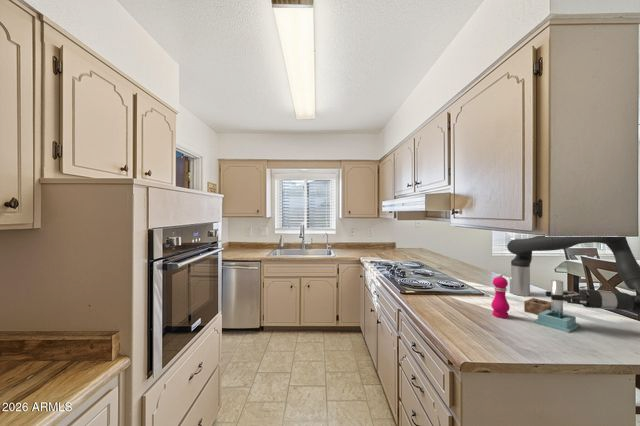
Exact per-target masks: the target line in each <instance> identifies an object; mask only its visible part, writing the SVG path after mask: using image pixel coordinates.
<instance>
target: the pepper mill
mask: <svg viewBox="0 0 640 426" xmlns="http://www.w3.org/2000/svg"><path fill="white" fill-rule="evenodd" d="M492 285H494V286H493V290H494V298H493V299H492V302H491V309H493V310H492V315H493V316H494V317H496V318H499V319H508V318H509V310H510V309H511V308H510V304H509V301H508V300H507V297H506V293H507V287H508V285H509V283H508V280H507V279H506V278H505V277H503V274H502V273H498V274H497V276H496V277H494V278H493V280H492Z"/></svg>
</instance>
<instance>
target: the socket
mask: <svg viewBox="0 0 640 426" xmlns="http://www.w3.org/2000/svg"><path fill="white" fill-rule="evenodd" d="M576 319H577V318H576V316H574V315H569V314H565V313H563V319H561V318H557V317H553V316H551V311H550V310H546V311H544V312H541V313H539V314H538V315H537V319H534V320H533V323H534V324H537V325H541V326H544V327H549V328H551V329H555V330H559V331H563V332H565V333H571V332H572V331H574V330H577V328H579V327H581V326H580V325H581V324H580V323H577V320H576Z"/></svg>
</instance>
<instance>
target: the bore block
mask: <svg viewBox="0 0 640 426" xmlns="http://www.w3.org/2000/svg"><path fill="white" fill-rule="evenodd" d="M523 304H524V307H523V308H524V309H523V311H524V312H525V313H526V312H527V313H528V314H529V313H530V314H533V315H537V316H538V314H539V313H541V312H544V311H546V310H550V311H551V301H548V300H545V299H544V300H543V299H539V298H536V297H532V298H530V299H527V300H524V302H523Z"/></svg>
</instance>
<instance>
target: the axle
mask: <svg viewBox="0 0 640 426" xmlns="http://www.w3.org/2000/svg"><path fill="white" fill-rule="evenodd" d="M550 284H551V285H550V286H551V287H550V288H551V289H550V290H551V295H552V294H553V295H562V296H563V291H564V280H560V279H551V283H550ZM550 302H551V316H553V317H557V318H561V319H563V314H564V301H559V300H552V299H551V298H550Z"/></svg>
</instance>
